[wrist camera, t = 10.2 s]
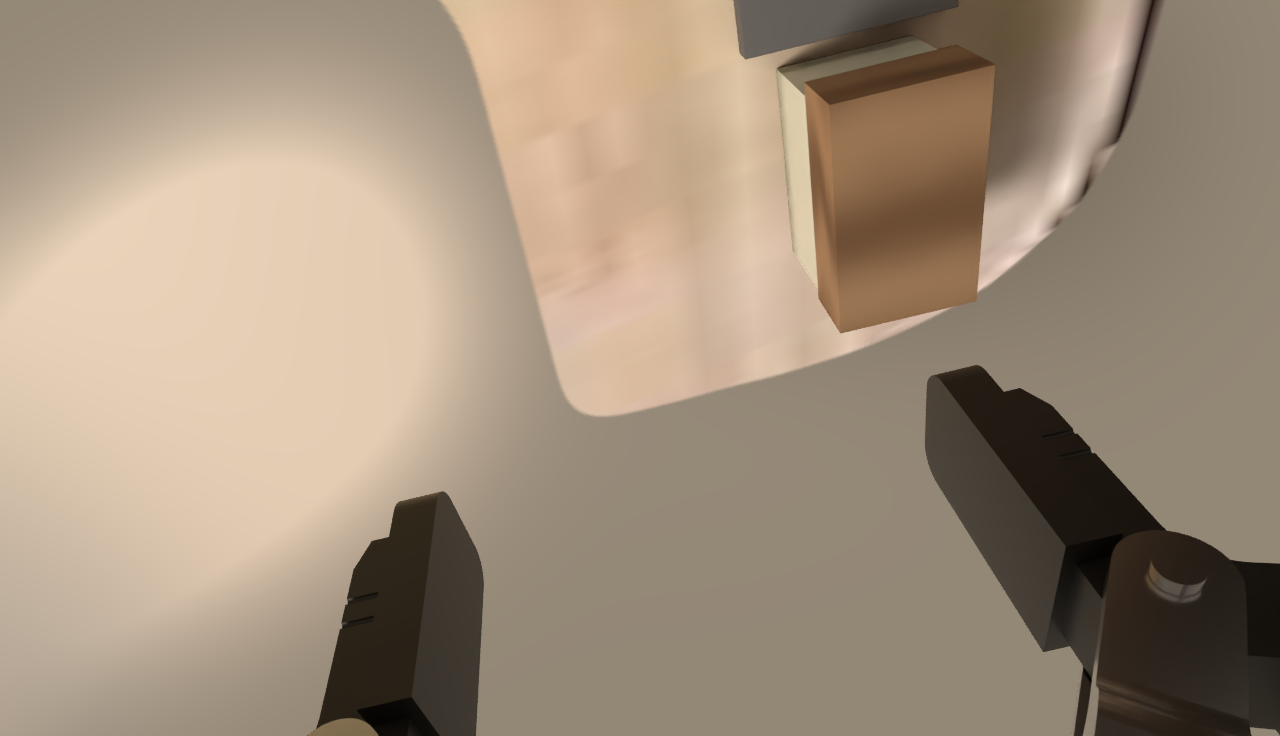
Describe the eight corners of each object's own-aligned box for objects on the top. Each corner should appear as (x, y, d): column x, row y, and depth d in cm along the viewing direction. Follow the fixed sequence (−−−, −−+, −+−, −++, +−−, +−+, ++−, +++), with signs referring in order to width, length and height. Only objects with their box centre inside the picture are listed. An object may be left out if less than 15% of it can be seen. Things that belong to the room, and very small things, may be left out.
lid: (804, 81, 29) (829, 105, 27) (956, 44, 29) (995, 64, 27) (818, 298, 35) (840, 333, 33) (944, 268, 35) (976, 300, 32)
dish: (776, 68, 33) (804, 95, 29) (911, 35, 32) (954, 58, 29) (792, 250, 38) (817, 289, 35) (909, 221, 38) (945, 258, 35)
